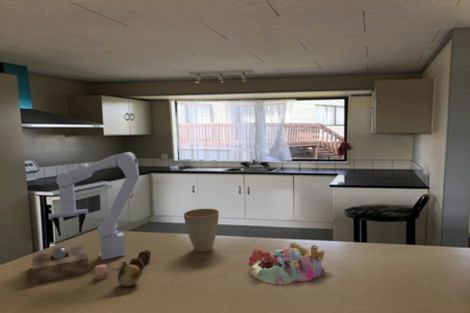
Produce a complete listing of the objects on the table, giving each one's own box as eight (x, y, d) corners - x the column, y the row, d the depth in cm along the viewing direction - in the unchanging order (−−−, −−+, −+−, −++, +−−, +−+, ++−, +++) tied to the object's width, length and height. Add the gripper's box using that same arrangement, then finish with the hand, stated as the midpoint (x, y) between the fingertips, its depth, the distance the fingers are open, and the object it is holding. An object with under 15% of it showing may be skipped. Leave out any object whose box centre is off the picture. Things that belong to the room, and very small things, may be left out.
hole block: (83, 257, 149) (82, 245, 149) (89, 271, 133) (88, 258, 133) (33, 266, 140) (32, 254, 140) (33, 283, 125) (32, 269, 124)
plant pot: (201, 241, 163) (199, 207, 162) (227, 246, 154) (225, 210, 153) (178, 251, 151) (175, 214, 150) (204, 257, 142) (203, 218, 141)
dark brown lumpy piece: (149, 262, 145) (138, 276, 130) (138, 256, 145) (125, 270, 130) (155, 250, 145) (145, 262, 130) (144, 244, 145) (133, 256, 130)
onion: (128, 291, 115) (127, 267, 114) (112, 287, 119) (110, 263, 118) (146, 282, 121) (144, 259, 120) (130, 278, 125) (128, 256, 125)
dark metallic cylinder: (65, 266, 139) (64, 246, 139) (67, 269, 136) (65, 249, 135) (54, 268, 137) (52, 248, 137) (55, 272, 134) (53, 251, 133)
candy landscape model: (283, 254, 143) (282, 231, 143) (336, 268, 127) (335, 243, 126) (238, 273, 126) (237, 248, 125) (293, 293, 109) (292, 264, 108)
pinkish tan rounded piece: (102, 274, 130) (101, 263, 130) (109, 276, 128) (109, 265, 128) (92, 278, 126) (92, 267, 126) (100, 280, 124) (100, 268, 124)
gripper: (48, 205, 139) (50, 239, 140) (88, 200, 146) (90, 233, 147) (47, 202, 145) (50, 235, 146) (85, 197, 152) (88, 229, 153)
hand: (70, 233), depth 147 cm, fingers open, 7 cm apart
